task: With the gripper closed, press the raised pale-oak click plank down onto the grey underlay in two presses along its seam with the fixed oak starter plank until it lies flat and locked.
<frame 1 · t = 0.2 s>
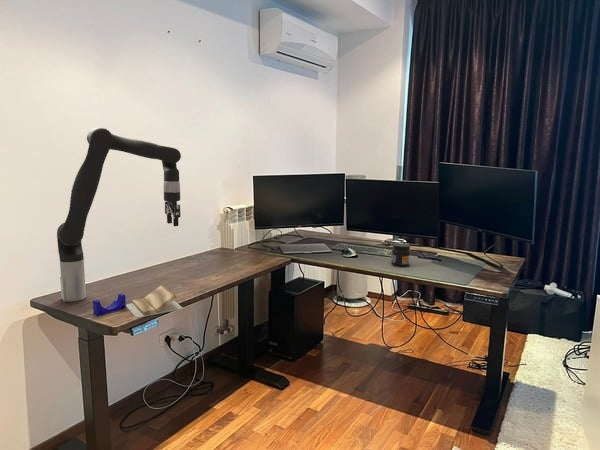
hand: (172, 224, 222), 29 cm above the table, fingers open, 8 cm apart
click plank: (160, 297, 194), point 4 cm above the table, hinge at 30.0°
underlay: (153, 307, 193), on the table
laid plank: (144, 308, 191), resting on underlay
supplement container: (400, 265, 268), on the table
blue cradle holder: (109, 311, 189), on the table
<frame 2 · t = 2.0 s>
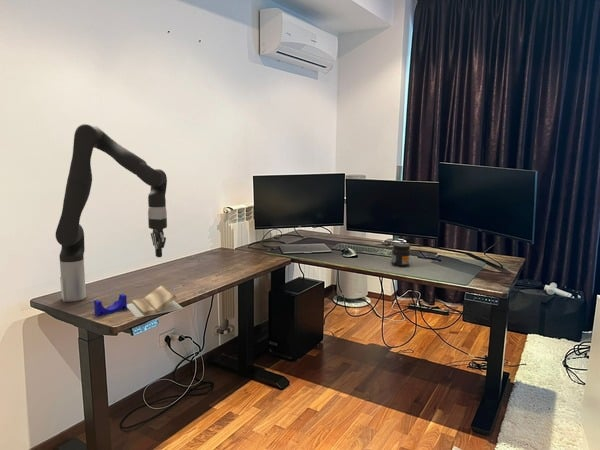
hand: (158, 256, 200), 19 cm above the table, fingers closed
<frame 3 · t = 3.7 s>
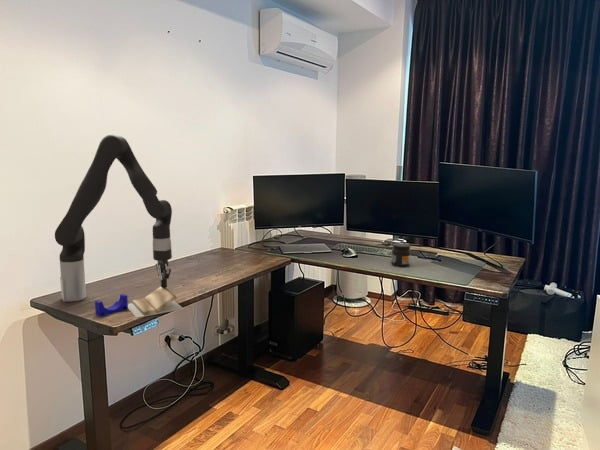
hand: (164, 287, 199), 6 cm above the table, fingers closed
click plank: (160, 297, 194), point 4 cm above the table, hinge at 28.3°, touching gripper
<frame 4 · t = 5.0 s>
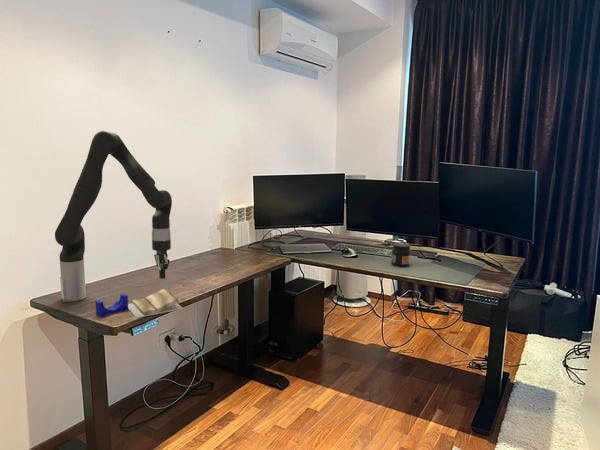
hand: (162, 278, 198), 10 cm above the table, fingers closed
click plank: (161, 299, 195), point 3 cm above the table, hinge at 17.2°
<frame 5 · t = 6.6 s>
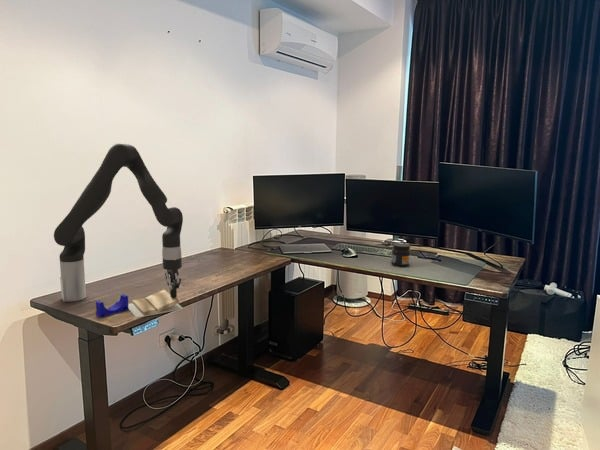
hand: (173, 297, 193), 4 cm above the table, fingers closed
click plank: (161, 300, 195), point 2 cm above the table, hinge at 15.1°, touching gripper
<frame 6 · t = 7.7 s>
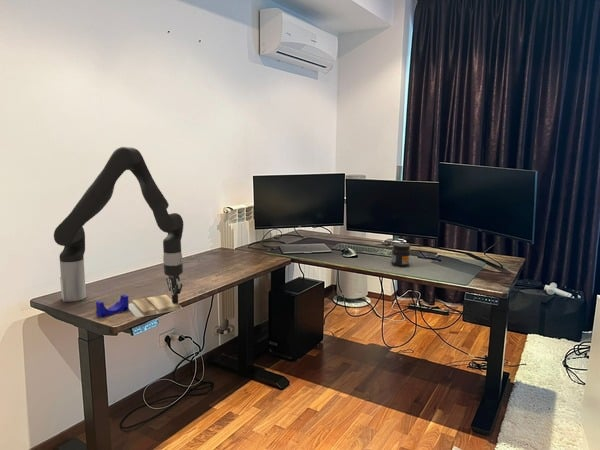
hand: (175, 302, 193), 2 cm above the table, fingers closed
click plank: (162, 302, 195), point 1 cm above the table, hinge at -0.1°, touching gripper, underlay
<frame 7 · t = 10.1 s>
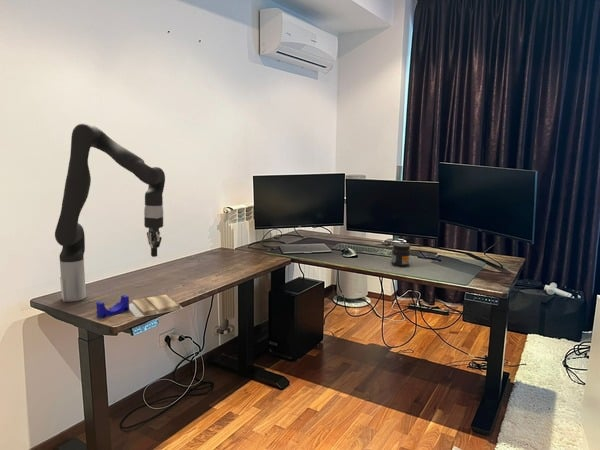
hand: (154, 256, 196), 20 cm above the table, fingers closed
click plank: (162, 302, 195), point 1 cm above the table, hinge at -0.1°, touching underlay
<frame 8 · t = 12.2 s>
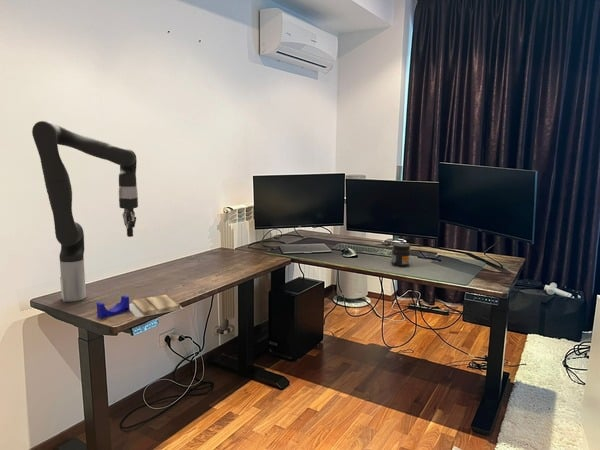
hand: (130, 236, 202), 27 cm above the table, fingers closed
at the end: click plank at +0° (first picture: +30°) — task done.
